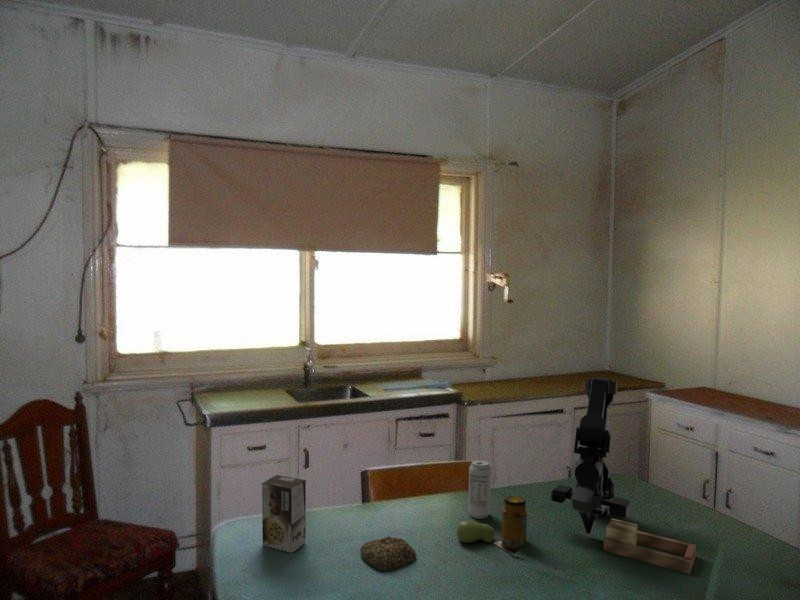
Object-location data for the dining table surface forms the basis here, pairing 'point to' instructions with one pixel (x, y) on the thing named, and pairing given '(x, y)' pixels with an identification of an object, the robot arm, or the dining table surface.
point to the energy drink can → (479, 489)
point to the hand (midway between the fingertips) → (588, 533)
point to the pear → (474, 531)
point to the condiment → (513, 524)
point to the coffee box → (284, 513)
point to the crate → (622, 531)
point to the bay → (655, 556)
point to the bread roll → (388, 553)
